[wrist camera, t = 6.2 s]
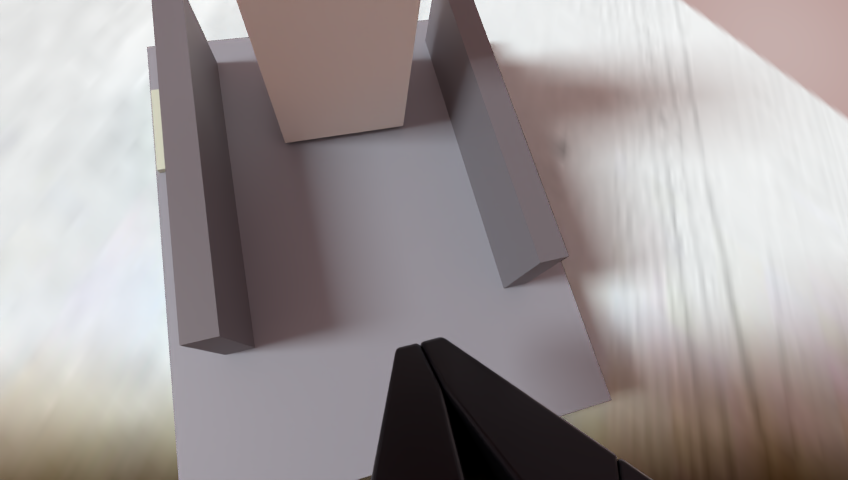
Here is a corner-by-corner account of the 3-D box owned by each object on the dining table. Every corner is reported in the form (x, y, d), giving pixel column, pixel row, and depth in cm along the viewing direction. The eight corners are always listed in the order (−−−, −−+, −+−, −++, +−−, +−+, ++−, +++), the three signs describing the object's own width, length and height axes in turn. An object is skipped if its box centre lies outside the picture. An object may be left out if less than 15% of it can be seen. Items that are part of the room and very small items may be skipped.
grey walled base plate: (586, 398, 14) (681, 404, 10) (205, 515, 12) (112, 590, 7) (463, 44, 18) (492, -59, 14) (166, 76, 16) (93, -35, 12)
